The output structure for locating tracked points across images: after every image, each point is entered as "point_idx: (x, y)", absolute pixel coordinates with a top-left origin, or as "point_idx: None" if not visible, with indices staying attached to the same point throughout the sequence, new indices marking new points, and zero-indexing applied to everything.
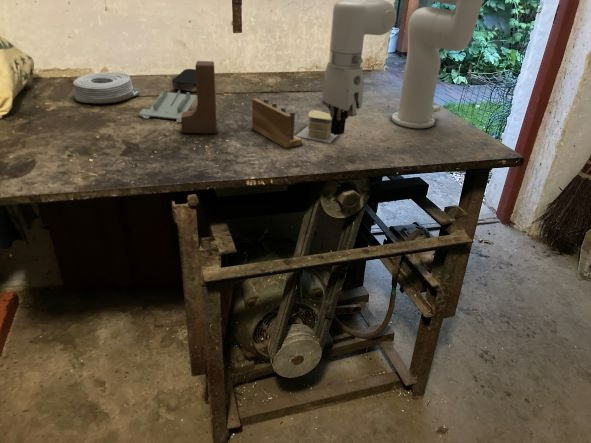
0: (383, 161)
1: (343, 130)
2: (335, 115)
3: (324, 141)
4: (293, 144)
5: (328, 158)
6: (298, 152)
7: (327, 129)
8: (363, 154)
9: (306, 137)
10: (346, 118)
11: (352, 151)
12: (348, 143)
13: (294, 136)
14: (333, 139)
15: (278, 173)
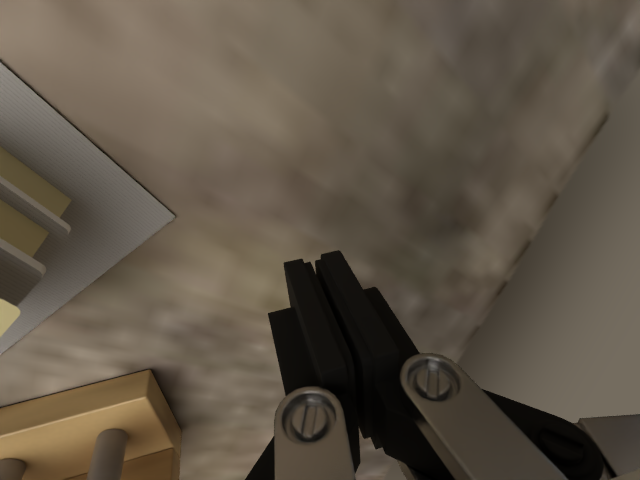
0: (576, 41)
1: (377, 291)
2: (355, 471)
3: (137, 240)
4: (167, 415)
5: None
6: (245, 395)
7: (37, 233)
8: (435, 99)
9: (24, 320)
10: (445, 369)
11: (362, 141)
12: (223, 77)
13: (87, 422)
14: (109, 158)
15: (375, 463)
